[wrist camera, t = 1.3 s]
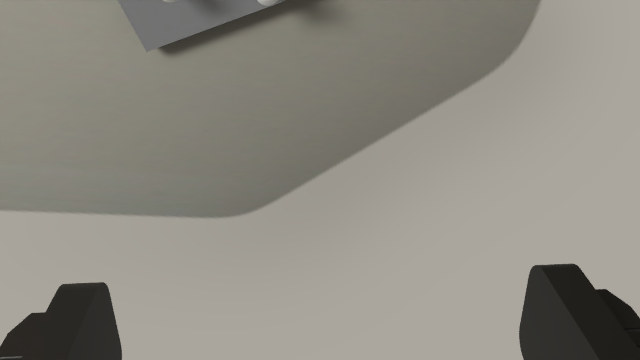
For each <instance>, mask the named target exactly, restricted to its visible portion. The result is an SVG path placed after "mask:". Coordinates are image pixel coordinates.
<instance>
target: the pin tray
mask: <svg viewBox="0 0 640 360" xmlns="http://www.w3.org/2000/svg"><path fill="white" fill-rule="evenodd" d="M283 1H286V0H118V2H119V3H120V5H121V7H122V9H123V10H124V12H125V14H126V16H127V18H128V19H129V21H130V23H131V25H132V27H133V28H134V30H135V32H136V34H137V35H138V37H139V39H140V41H141V43H142V44H143V46H144V48H145V50H146V52H148V51H150V50H153V49H156V48H159V47H161V46H164V45H167V44H169V43H172V42H175V41H178V40H180V39H183V38H186V37H188V36H191V35H194V34H197V33H199V32H202V31H205V30H207V29H210V28H213V27H216V26H218V25H221V24H224V23H226V22H229V21H232V20H234V19H237V18H240V17H243V16H245V15H248V14H251V13H253V12H256V11H259V10H262V9H264V8H267V7H270V6H272V5H275V4H278V3H281V2H283Z"/></svg>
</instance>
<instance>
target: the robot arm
mask: <svg viewBox="0 0 640 360" xmlns="http://www.w3.org/2000/svg"><path fill="white" fill-rule="evenodd" d="M519 339H520V347H521V352H522V355H523V358H524V360H640V318H639V317H638V316H637V314H636V313H635V311H634V310H633V309H632V308H631V307H630V306H629V305H628V304H626V303H625V302H623V301H622V300H621V299H619V298H618V297H616V296H615V295H613V294H612V293H611V292H609V291H608V290H606V289H599V290H595V288H594V287H593V285H592V284H591V283H590V282H589V280H588V279H587V277H586V276H585V275H584V273H583V272H582V270H581V269H580V268H579V267H578V266H577V265H575V264H555V265H535V266H533V267H532V269H531V271H530V274H529V278H528V284H527V289H526V295H525V301H524V306H523V312H522V317H521V323H520V331H519ZM0 360H122V350H121V343H120V338H119V334H118V330H117V325H116V320H115V315H114V311H113V306H112V302H111V297H110V293H109V289H108V287H107V285H106V284H105V283H103V282H102V283H101V282H100V283H76V284H63V285H61V286H60V287H59V288H58V290H57V292H56V294H55V296H54V297H53V299H52V301H51V303H50V305H49V307H48V309H47V311H46V312H45V313H31V314H30V315H29V316H27V317H26V318H25V319H24V320H23V321H22V322H21V323H19V324H18V325H17V326H16V327H15V328H14V329H13V330H11V331H10V332H9V333H8V334H7V336H6V338H5V339H4V341H3V343H2V345H1V346H0Z"/></svg>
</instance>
